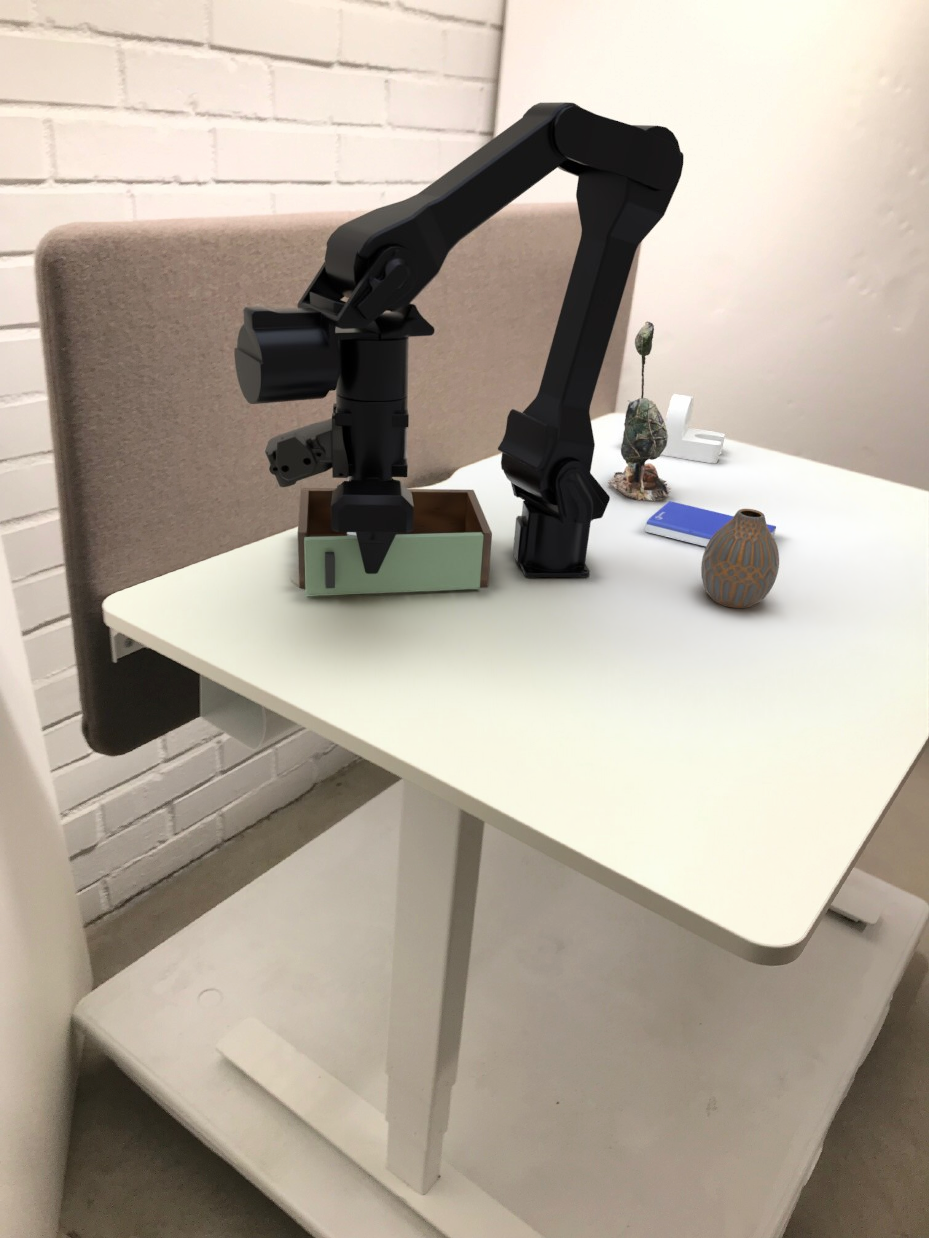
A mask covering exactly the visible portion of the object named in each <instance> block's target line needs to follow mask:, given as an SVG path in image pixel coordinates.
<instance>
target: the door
mask: <svg viewBox="0 0 929 1238" xmlns="http://www.w3.org/2000/svg"><path fill="white" fill-rule="evenodd" d="M483 537H484V535H483V534H482V532H471V533H435V534H399V535H396V536H395V538H394V540H393V542H392V544H391V546H390V548H389V550H388V552H387V555H386V557H385V559H384V561H383V563H382V565H381V567H380V569H379V572H378V573H377V574H367V573H365V570H364V565H363V561H362V557H361V552H360V548H359V544H358V539H357V536H327V537H304V546H305V586H306V588H305V596H306V597H315V596H316V597H317V596H339V595H359V594H361V595H362V594H384V593H410V592H412V593H413V592H431V591H432V592H433V591H435V592H437V591H456V590H457V591H458V590H479V589H480V588H481V587H480V577H481V564H482V550H483Z"/></svg>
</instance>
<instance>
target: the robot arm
mask: <svg viewBox="0 0 929 1238" xmlns="http://www.w3.org/2000/svg"><path fill="white" fill-rule="evenodd" d="M684 157H685V156H684V153H683V152H682V151H681V147H680V144H679V141H678V138H677V137H676V135H675V134H674V132H673V131H672V130H670V129H669V128H668V127H666V126H661V125H648V124H643V125H642V124H629V123H626V122H622V121H619V120H615V119H613V118H609V117H606V116H603V115H599V114H597V113H594V112H592V111H590V110H587V109H585V108H583V107H581V106H580V105H578V104H577V103H575V102H567V101H566V102H538V103H536V104H533V105H532V106H531V107H530V108H528V109H527V110H526V112H525V113H524V114H523V115H522V116H521V118H520V119H518V120H517V121H515V122H514V123H513V124H511V125H510V126H509V127H507V128H506V129H504V130H503V131H502V132H500V133H499V134H498V135H496V136H495V137H494V138H492V139H491V140H490V141H488V142H487V143H485V144H484V145H483V146H481V147H480V148H479V149H477V150H476V151H474V152H473V153H471V154H470V155H468V157H466V158H464V160H462V161H461V162H459V163H458V164H457V165H455V166H454V167H453V168H451V169H450V170H448V171H447V172H446V173H444V174H443V175H442V176H440V177H439V178H438V179H436V180H435V181H433V182H432V183H431V184H429V185H428V186H426V187H425V188H424V189H422V190H421V191H420V192H418V193H417V194H414V195H412V196H410V197H408V198H406V199H403V200H400V201H397V202H393V203H389V204H387V205H384V206H381V207H377V208H375V209H372V210H370V211H368V212H366V213H364V214H361V215H360V216H358V217H356V218H353V219H351V220H349V221H347V222H345V223H343V224H341V225H339V226H338V227H337V228H336V229H335V230H334V231H333V232H332V233H331V234H330V236H329V238H328V239H327V241H326V249H325V254H324V262H323V264H322V265H321V266H320V268H319V270H318V272H317V273H316V274H315V276H314V277H313V279H312V280H311V283H310V284H309V285H308V287H307V288H306V290H305V292H303V294H302V296H301V297H300V299H299V300H298V303H297V305H296V306H297V308H268V307H264V306H245V307H244V308H243V311H242V313H243V324H242V325H241V327H240V328H239V332H238V335H237V341H236V347H234V366H235V372H236V376H237V381H238V386H239V388H240V391H241V393H242V395H243V397H244V399H245V401H246V402H247V403H248V404H250V405H259V404H260V405H261V404H272V403H287V402H297V401H310V400H321V399H324V398H326V397H327V396H328V394H329V392H331V391H335V392H336V393H335V398H336V399H335V400H336V401H335V403H333V406H332V412H331V418H328V419H325V420H322V421H318V422H317V421H316V422H314V423H311V424H308V425H307V424H306V425H305V426H301V427H299V428H296V429H293V430H290V431H287V432H284V433H281V434H278V435H276V436H273V437H272V438H270V439H269V440H268V441H267V444H266V447H265V449H264V453H265V455H266V457H267V460H268V462H269V469H268V470H269V472H270V474H272V475H273V476H275V479H276V481H277V483H278V486H279V487H280V488H288V487H291V486H295V485H296V484H297V482H298V481H299V482H300V481H301V480H304V479H308V478H310V477H313V476H316V475H319V474H323V473H325V472H328V471H329V470H332V472H331V475H332V478H333V479H346V480H344V481H342V482H341V483H340V484H337V485H336V487H335V488H336V489H335V490H334V491H333V492H332V502H331V529H332V530H334V531H337V532H356V535H357V539H358V544H359V548H360V552H361V557H362V561H363V565H364V570H365V573H367V574H377V573H378V572H379V569H380V567H381V565H382V563H383V561H384V559H385V557H386V555H387V552H388V550H389V548H390V546H391V544H392V542H393V540H394V538H395V536H396V534H397V533H407V532H410V531H413V524H414V505H413V498H412V493H411V492H410V491H409V490H408V489H409V488H407V486H405V485H404V484H403V482H402V481H401V480H399V479H394V478H408V469H409V468H408V467H409V466H408V459H407V451H408V449H407V447H408V428H409V423H410V422H409V421H410V420H409V419H410V417H409V416H410V413H409V408H408V400H409V399H408V398H409V397H408V393H409V392H408V391H409V345H410V343H409V342H410V341H409V340H410V338H411V337H412V338H413V337H431V336H433V335H434V334H435V332H436V331H435V330H436V329H435V327H434V326H433V325H432V324H430V322H429V321H428V320H427V319H425V317H424V316H423V315H422V314H421V312H420V311H419V309H418V307H417V305H416V304H414V303H412V302H413V301H414V300H415V299H416V298H417V297H418V296H419V295H420V294H421V293H422V292H423V291H424V290H425V288H427V286H428V285H429V284H430V283H431V282H432V281H433V280H434V279H435V278H436V277H437V276H438V275H439V273H440V272H441V269H442V267H443V265H444V263H445V261H446V259H447V257H448V256H449V253H450V252H451V251H452V250H453V249H454V248H455V247H456V246H457V244H458V243H459V242H460V241H462V240H463V239H464V238H465V237H467V236H468V235H470V234H471V233H473V231H475V230H477V228H479V227H480V226H482V225H483V224H484V223H486V222H487V221H488V220H489V219H491V218H492V217H494V216H495V215H496V214H497V213H499V212H501V211H502V210H503V209H504V208H506V207H507V206H508V205H510V204H511V203H512V202H513V201H515V200H516V199H518V198H519V197H520V196H522V195H523V194H524V193H526V192H527V191H528V190H529V189H531V188H533V186H535V185H536V184H537V183H539V182H540V181H542V180H544V178H546V177H547V176H548V175H550V174H551V173H552V172H553V171H555V170H556V169H559V170H561V171H563V172H565V173H568V174H571V175H573V176H575V177H577V184H576V192H575V198H576V204H577V209H578V215H579V222H580V228H581V234H580V239H579V243H578V247H577V250H576V252H575V253H576V254H575V256H574V261H573V264H572V269H571V272H570V275H569V278H568V283H567V286H566V289H565V294H564V297H563V302H562V305H561V309H560V312H559V316H558V320H557V323H556V326H555V330H554V334H553V337H552V342H551V345H550V349H549V352H548V356H547V359H546V362H545V366H544V370H543V373H542V374H543V375H542V378H541V382H540V385H539V388H538V389H539V390H538V392H537V394H536V396H535V398H534V399H533V400H532V401H531V402H530V403H529V404H528V405H527V407H526V408H524V410H523V411H519V410H517V409H514V408H512V409H511V410H509V412H508V415H507V418H506V425H505V432H504V435H503V438H502V440H501V442H500V444H499V445H498V447H497V451H499V452H501V459H500V468H501V470H502V471H503V473H504V475H505V477H506V479H507V480H508V481H509V482H510V484H511V488H512V494H513V496H514V497H516V498H517V499H518V498H519V499H521V500H523V501H522V511H521V515H518V516H516V518H515V523H514V524H515V526H514V536H513V547H512V555H513V557H514V559H515V561H516V563H517V564H518V565H519V566H520V568H521V571H522V572H523V575H524V576H525V577H528V578H581V577H582V578H587V577H590V573H591V571H590V569H589V568H588V566H587V564H586V562H587V553H588V546H589V539H590V538H589V537H590V530H591V524H592V521H593V520H597V519H602V518H603V517H604V514H605V512H606V509H607V507H608V506H609V505H608V504H609V503H610V500H611V498H610V495H609V494H608V493H607V491H606V490H605V489H604V488H603V486H601V484H600V483H599V481H597V479H596V478H595V476H594V475H593V474H592V473H591V471H592V465H593V458H594V453H595V447H596V442H595V437H594V431H593V425H592V420H591V414H590V411H591V405H592V401H593V399H594V394H595V391H596V388H597V385H598V381H599V378H600V374H601V370H602V367H603V364H604V361H605V358H606V353H607V351H608V350H607V349H608V347H609V344H610V341H611V337H612V334H613V330H614V326H615V323H616V320H617V317H618V313H619V310H620V306H621V303H622V300H623V297H624V293H625V289H626V287H627V282H628V279H629V276H630V273H631V270H632V266H633V262H634V260H635V255H636V252H637V251H638V248H639V245H641V243H642V242H643V241H644V239H645V238H646V237H647V236H648V235H649V234H650V233H651V231H652V230H653V229H654V228H655V227H656V225H657V224H658V223H660V222H661V220H662V219H663V218H664V216H665V214H666V213H667V210H668V208H669V205H670V204H671V201H672V198H673V197H674V194H675V192H676V189H677V187H678V185H679V182H680V180H681V177H682V173H683V169H684V168H683V167H684ZM343 298H347V301H345V300H342V299H343Z"/></svg>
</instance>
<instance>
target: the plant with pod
mask: <svg viewBox="0 0 929 1238" xmlns="http://www.w3.org/2000/svg"><path fill="white" fill-rule="evenodd" d="M654 331H655V325H654V324H653V323H652V322H651V321H648V320H647V321H645V323H644V324H643V326H642V327H641V328H640V329H639V330H638V332H637V334H636V335H635V338H634V347H635V349H636V352H637V353H638V355H640V356H641V396H640V397H639V398H638V399H635V400H627V402H629V403H628V404H627V408H626V411H625V418H624V423H623V426H624V430H623V436H622V442H621V446H620V455H621V456H622V457H621V458H622V459H623V460H624V461H625V463H626V467H625V468H624V470H623V471H617V472H613V473H614V475H613V477H612V478H610V479H609V480H607V484H608V485H611V486H612V487H614V489H615V490H618V492H619V493H620V494H622V495H623V496H625V497H627V498H630V499H633V500H638V501H641V500H642V499H643V501H652V502H656V501H661V500H666V499H668V498H669V497H670V495H669V494H670V492H671V491H670V490H671V488H670V487H669V486H668V483H667V480H664V479H663V478H660V476H659V474H658V471H657V468H656V466H655V465H653V463H646V462H647V461H648V460H651V461H654V460H656V459H658V458H660V457H661V455H660V454H661V453H662V452H663V450H664V449H665V447H666V446H667V438H668V434H667V429H666V426H665V422H666V421H665V420H664V417H663V416H662V414H661V412H660V410H659V409H658V406H657V404H656V403H655V402H654V401H653V400H650V399H649V398H647V397H644V394H645V393H644V390H645V389H644V387H645V375H644V373H645V365H646V359H647V358H646V356H649V355H650V354H651V351H652V348H653V339H654Z"/></svg>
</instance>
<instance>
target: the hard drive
mask: <svg viewBox="0 0 929 1238" xmlns="http://www.w3.org/2000/svg"><path fill="white" fill-rule="evenodd" d="M734 516H735V515H730V514H726V513H721V512H717V511H714V510H709V509H705V508H700V507H697V506H692V505H689V504H684V503H681V502H675V501H672V500H669V501H667V502H666V504H665V503H664V505H663V506H662V507H661V508H659V509H658V510H657V511H655V512H654V514H652V515H651V516H650V517H649V518H648V519H647V520H646V523H645V528H644V532H646V533H649V534H654V535H658V536H662V537H666V538H670V539H674V540H677V541H682V542H686V543H690V544H694V545H698V546H701V547H706V546H707V544H708V542H709V541H710V539H711V538H712V536H713V535H714V534H715V533H716V532H717V531H718V530H719V529H720V528H721V527H723V526H724V525H725V524H726V523H728V522H729V521H730V520H731V519H732V518H733V517H734ZM766 524H767V526H768V528H769V530H770V532H771V534H772V536H773V538H774V537H775V534H776V530H777V526H776V525H773V524H769V523H766Z"/></svg>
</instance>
